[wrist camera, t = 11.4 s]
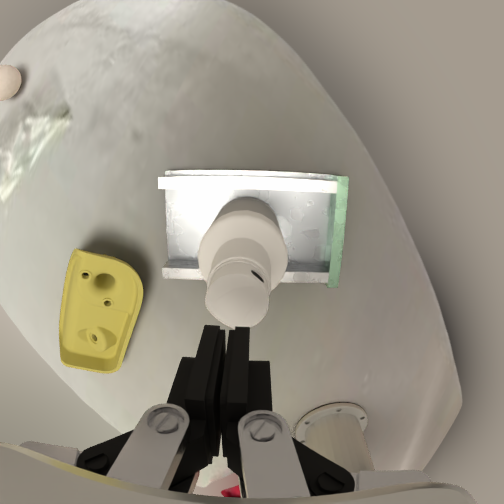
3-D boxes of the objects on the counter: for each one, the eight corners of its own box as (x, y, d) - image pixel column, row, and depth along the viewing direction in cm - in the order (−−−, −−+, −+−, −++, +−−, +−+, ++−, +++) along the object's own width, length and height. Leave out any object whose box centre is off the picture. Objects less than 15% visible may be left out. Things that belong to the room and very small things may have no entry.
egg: (23, 62, 27) (-8, 53, 20) (33, 83, 28) (-1, 76, 21) (3, 87, 28) (-29, 83, 21) (12, 109, 29) (-22, 107, 22)
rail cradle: (330, 275, 36) (337, 287, 32) (171, 271, 36) (163, 282, 32) (339, 175, 32) (348, 177, 29) (167, 170, 32) (158, 171, 29)
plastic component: (118, 375, 39) (54, 363, 33) (115, 339, 44) (58, 327, 39) (155, 270, 32) (68, 247, 27) (150, 237, 38) (78, 216, 32)
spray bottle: (291, 225, 33) (327, 298, 16) (249, 268, 34) (243, 373, 17) (244, 182, 32) (229, 212, 14) (203, 229, 33) (150, 304, 16)
